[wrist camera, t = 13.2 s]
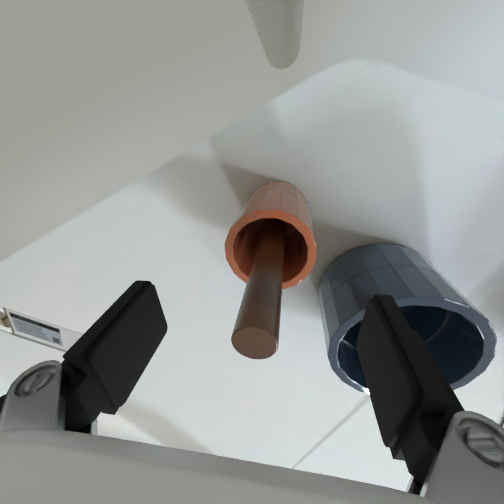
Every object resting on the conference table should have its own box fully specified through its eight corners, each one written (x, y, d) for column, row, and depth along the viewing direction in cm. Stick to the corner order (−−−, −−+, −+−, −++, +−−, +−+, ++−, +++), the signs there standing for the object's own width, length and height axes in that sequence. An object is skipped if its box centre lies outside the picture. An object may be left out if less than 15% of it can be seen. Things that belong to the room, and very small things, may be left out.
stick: (266, 206, 23) (228, 324, 9) (286, 206, 23) (278, 328, 9) (267, 225, 24) (233, 357, 10) (286, 225, 24) (278, 362, 10)
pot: (323, 239, 25) (338, 292, 17) (448, 243, 23) (531, 303, 15) (314, 322, 30) (321, 390, 22) (413, 330, 28) (460, 407, 21)
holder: (245, 181, 23) (220, 209, 15) (310, 180, 22) (320, 210, 14) (248, 239, 26) (229, 287, 18) (306, 241, 25) (312, 292, 17)
